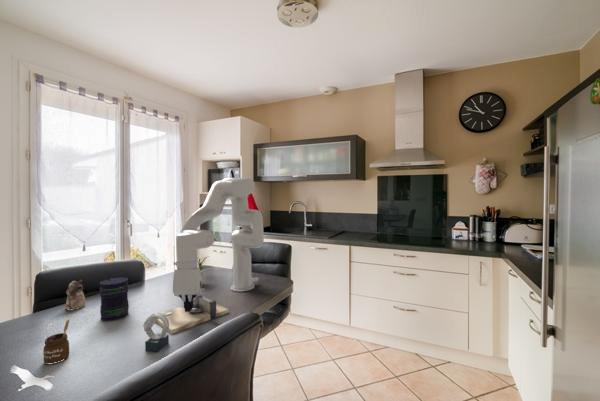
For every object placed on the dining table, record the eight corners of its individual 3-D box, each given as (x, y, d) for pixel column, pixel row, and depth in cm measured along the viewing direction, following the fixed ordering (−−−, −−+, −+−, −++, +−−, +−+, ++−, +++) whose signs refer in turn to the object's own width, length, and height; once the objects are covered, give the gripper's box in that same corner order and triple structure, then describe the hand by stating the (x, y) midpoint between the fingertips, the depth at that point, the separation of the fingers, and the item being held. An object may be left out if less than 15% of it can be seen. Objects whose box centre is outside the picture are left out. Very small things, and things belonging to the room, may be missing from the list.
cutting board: (206, 301, 130) (206, 296, 130) (228, 312, 118) (228, 307, 118) (151, 319, 112) (151, 313, 112) (171, 334, 100) (171, 327, 100)
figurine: (63, 307, 124) (63, 281, 124) (83, 303, 129) (83, 277, 129) (66, 312, 119) (65, 284, 119) (86, 307, 125) (86, 280, 124)
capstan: (183, 309, 117) (183, 291, 117) (201, 303, 123) (201, 286, 123) (205, 322, 106) (205, 302, 105) (223, 315, 112) (223, 296, 111)
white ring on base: (153, 341, 95) (152, 309, 95) (173, 344, 93) (172, 311, 93) (140, 350, 90) (139, 316, 90) (161, 353, 88) (160, 319, 88)
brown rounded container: (51, 355, 87) (50, 317, 87) (74, 352, 89) (73, 315, 88) (38, 366, 81) (37, 326, 81) (63, 363, 83) (62, 324, 83)
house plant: (201, 278, 167) (201, 251, 166) (216, 282, 159) (216, 254, 158) (179, 284, 155) (179, 255, 155) (194, 289, 147) (193, 259, 147)
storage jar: (134, 312, 118) (133, 278, 118) (112, 323, 109) (111, 285, 109) (117, 309, 122) (116, 276, 121) (94, 319, 112) (93, 282, 112)
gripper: (163, 267, 105) (165, 314, 106) (202, 267, 104) (203, 314, 105) (173, 261, 112) (174, 306, 113) (209, 261, 112) (210, 306, 113)
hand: (188, 310), depth 109 cm, fingers closed
